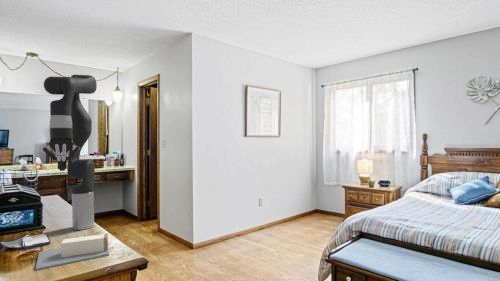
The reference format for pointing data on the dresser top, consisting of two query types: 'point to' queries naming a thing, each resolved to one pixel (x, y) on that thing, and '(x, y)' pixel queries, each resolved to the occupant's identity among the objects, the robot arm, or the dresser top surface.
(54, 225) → the dresser top surface
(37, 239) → the dark grey smartphone
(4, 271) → the dresser top surface
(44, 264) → the rubber mat
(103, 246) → the cream block
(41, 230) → the dresser top surface
